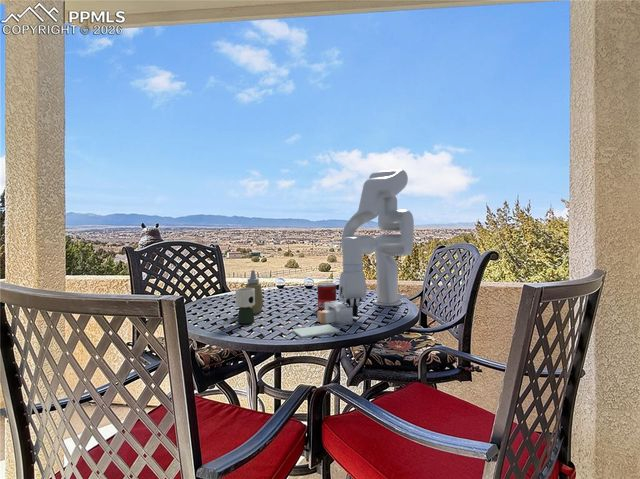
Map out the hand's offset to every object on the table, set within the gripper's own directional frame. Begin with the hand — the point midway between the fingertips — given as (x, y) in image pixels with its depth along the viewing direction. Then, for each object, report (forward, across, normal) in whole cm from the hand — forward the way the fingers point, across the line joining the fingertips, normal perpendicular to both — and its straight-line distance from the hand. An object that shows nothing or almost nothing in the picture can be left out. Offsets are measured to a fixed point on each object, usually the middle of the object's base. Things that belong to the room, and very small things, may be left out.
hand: (353, 315), depth 150 cm
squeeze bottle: (+1, +32, -29) cm, 43 cm away
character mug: (+1, +39, -13) cm, 41 cm away
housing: (+1, +7, 0) cm, 7 cm away
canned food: (+1, +2, -20) cm, 20 cm away
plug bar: (+1, +8, 0) cm, 8 cm away
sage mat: (+1, +20, +10) cm, 23 cm away
